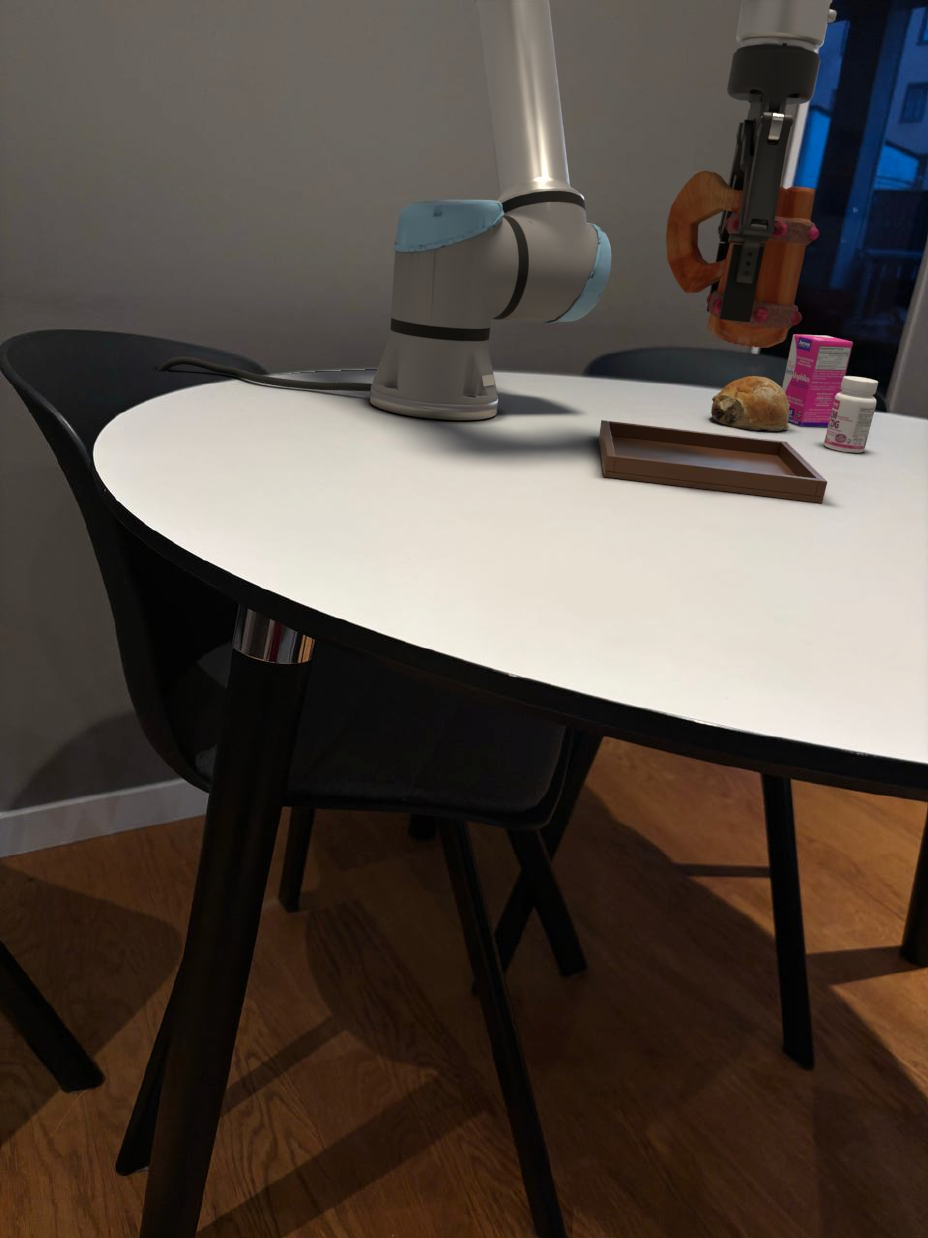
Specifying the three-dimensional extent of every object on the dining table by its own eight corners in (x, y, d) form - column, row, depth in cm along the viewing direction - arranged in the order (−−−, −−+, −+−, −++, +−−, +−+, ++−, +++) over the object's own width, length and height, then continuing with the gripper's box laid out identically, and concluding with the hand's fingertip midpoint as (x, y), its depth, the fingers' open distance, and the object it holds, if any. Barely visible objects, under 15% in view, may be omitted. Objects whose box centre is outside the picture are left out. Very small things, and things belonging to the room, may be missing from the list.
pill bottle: (814, 444, 120) (831, 374, 117) (841, 443, 123) (858, 375, 119) (845, 453, 116) (862, 382, 113) (872, 453, 119) (890, 382, 116)
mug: (806, 349, 96) (844, 183, 90) (779, 354, 90) (818, 175, 84) (670, 328, 103) (696, 172, 98) (636, 330, 97) (662, 164, 91)
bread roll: (776, 461, 126) (815, 408, 123) (712, 420, 124) (750, 365, 122) (756, 445, 135) (792, 394, 133) (695, 406, 133) (731, 354, 131)
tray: (603, 476, 93) (607, 455, 92) (598, 438, 110) (601, 419, 110) (822, 503, 92) (827, 481, 91) (782, 460, 109) (786, 441, 108)
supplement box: (773, 417, 137) (792, 332, 132) (808, 418, 139) (827, 335, 134) (799, 426, 132) (819, 338, 127) (835, 427, 134) (856, 341, 129)
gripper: (853, 30, 76) (788, 331, 85) (795, 71, 96) (748, 312, 104) (755, 21, 76) (701, 321, 85) (718, 64, 96) (677, 304, 105)
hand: (727, 316), depth 95 cm, fingers closed on mug, 8 cm apart
